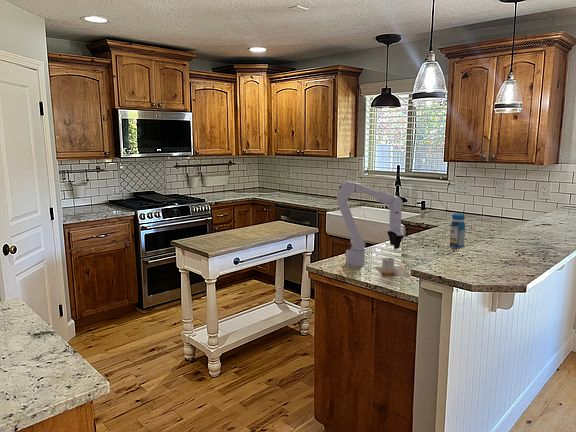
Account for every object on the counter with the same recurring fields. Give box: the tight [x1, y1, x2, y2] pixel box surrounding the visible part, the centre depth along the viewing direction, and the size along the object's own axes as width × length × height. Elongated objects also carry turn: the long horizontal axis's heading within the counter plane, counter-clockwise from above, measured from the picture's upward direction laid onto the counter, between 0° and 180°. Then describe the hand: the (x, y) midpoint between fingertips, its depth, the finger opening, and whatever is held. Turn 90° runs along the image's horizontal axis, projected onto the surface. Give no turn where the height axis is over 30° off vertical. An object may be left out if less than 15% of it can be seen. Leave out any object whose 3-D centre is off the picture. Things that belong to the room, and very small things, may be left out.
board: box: [374, 265, 412, 278], centre depth 215 cm, size 13×17×1 cm
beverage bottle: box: [449, 212, 466, 249], centre depth 263 cm, size 8×8×20 cm
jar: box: [382, 269, 394, 275], centre depth 211 cm, size 5×5×5 cm
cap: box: [381, 257, 395, 271], centre depth 211 cm, size 5×5×5 cm
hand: (394, 246), depth 226 cm, fingers open, 7 cm apart
